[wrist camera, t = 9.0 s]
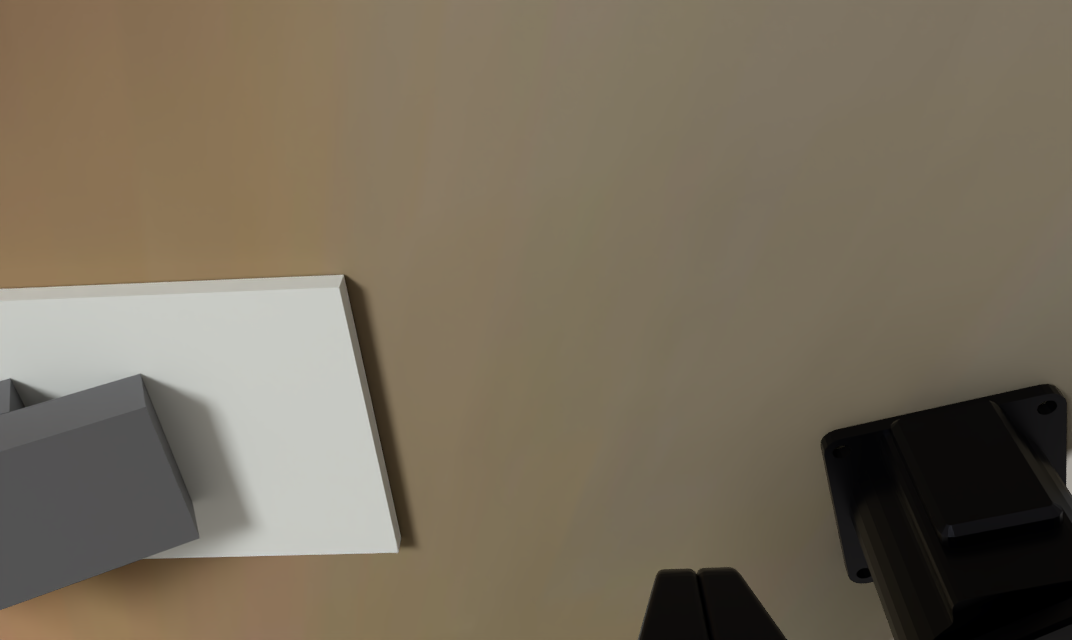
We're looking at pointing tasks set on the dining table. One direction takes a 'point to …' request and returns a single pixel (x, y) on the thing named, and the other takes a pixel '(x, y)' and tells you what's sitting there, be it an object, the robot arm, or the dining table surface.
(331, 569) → the dining table surface
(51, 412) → the domino
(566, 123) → the dining table surface
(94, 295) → the white mat
